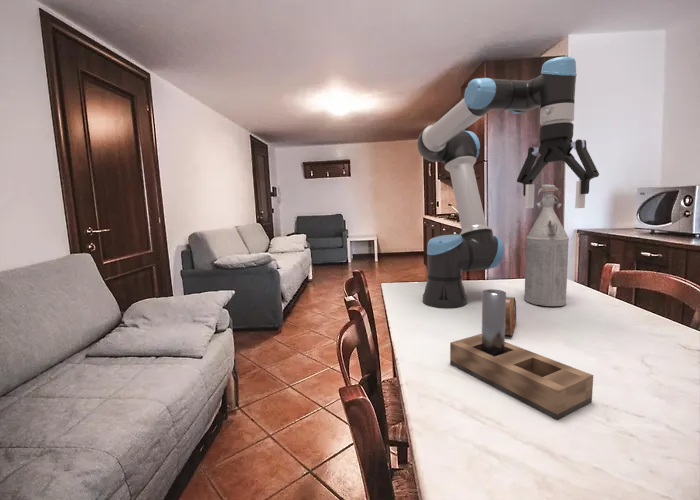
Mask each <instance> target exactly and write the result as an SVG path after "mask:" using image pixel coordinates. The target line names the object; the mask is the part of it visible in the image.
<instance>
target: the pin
mask: <svg viewBox="0 0 700 500" xmlns="http://www.w3.org/2000/svg"><path fill="white" fill-rule="evenodd" d="M506 297H507V293H506V291H504V290H501V289H483V290H482V300H481V301H482V305H481V310H482V311H481V313H482V315H481V334H482V351H483V352H485V353H487V354H490V355H492V356H494V357H495V356H498V355H501V354H504V345H505V342H506V339H505V337H506V335H505V310H506Z"/></svg>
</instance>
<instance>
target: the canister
mask: <svg viewBox="0 0 700 500" xmlns="http://www.w3.org/2000/svg"><path fill="white" fill-rule="evenodd" d="M556 191H559V189H558V187H556V185H553V184H542V185H541V188H539V189H538V191H537V196H539V194H540V193H542V198H541V201H539V202H536V206H537V207H538V209H539V210H540V211H541V212H540V213H539V214H538V217H537V218H536V220H535V223H534V224H533V226H532V227H531V230H530V231H529V233H528V234H527V236H526V237H525V238H526V244H525V250H526V251H525V266H524V267H525V269H524V270H525V271H524V296H523V297H524V299H525V301H526V302H528V303H530V304H533V305H537V306H543V307H544V306H545V307H561V306H565V305H566V304H567V283H568V264H569V262H568V261H569V241H570V237H569V236H568V234H567V232H566V230H565V228H564V226H563V225H562V223H561V221H560V219H559V217H558V215H557V214H556V212H555V210H554V205H555V204H557V209H559V210H560V207H561V206H562V203H560V202H559V199H558V198H557V196H555V192H556ZM558 195H560V193H558ZM555 199H556V200H557V201H556V200H555Z"/></svg>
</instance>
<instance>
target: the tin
mask: <svg viewBox="0 0 700 500" xmlns="http://www.w3.org/2000/svg"><path fill="white" fill-rule="evenodd" d="M516 326H517V302H516V297H508V296H506V310H505V336H510V337H513V336H514V334H515V330H516Z"/></svg>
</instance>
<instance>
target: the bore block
mask: <svg viewBox="0 0 700 500" xmlns="http://www.w3.org/2000/svg"><path fill="white" fill-rule="evenodd" d="M449 343H450V346H449V347H450V350H449V351H450V352H449V354H450V355H449V356H450V357H449V358H450V361H449V365H451V366H453V367H455V368H457V369H458V370H461V371H462V372H464V373H466V374H468V375H470V376H472V377H474V378H476V379H478V380H479V381H480V382H484V383H485V384H487V385H489V386H491V387H493V388H495V389H496V390H498V391H501V392H502V393H504V394H506V395H508V396H509V397H512V398H514V399H515V400H518V401H520V403H521V402H522V403H523V404H524V405H525V404H526V405H527V406H529V407H531V408H532V409H534V410H537V411H539V412H540V413H542V414H544V415H547V417H548V416H549V417H550V418H552V419H553V420H555V421H558V420H560V419H562V418H564V417H566V416H569V415H570V414H572V413H573V412H576V411H577V410H580V409H581V408H583V407H585V406H587V405H590V404H591V403H592V402H593V386H594V385H593V384H594V374H591V373H589V372H586V371H583V370H581V369H578V368H576V367H573V366H570V365H568V364H564V363H562V362H560V361H557V360H554V359H551V358H550V357H546V356H544V355H541V354H539V353H535V352H532V351H530V350H527V349H525V348H522V347H520V346H518V345H515V344H513V343H512V344H511V343H509V342H507V341H505V345H504V354H501V355H498V356H495V357H494V356H492V355H490V354H487V353H485V352H483V351H482V333H479V334H476V335H471V336H467V337H465V338H461V339H458V340H455V341H451V342H449Z"/></svg>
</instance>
